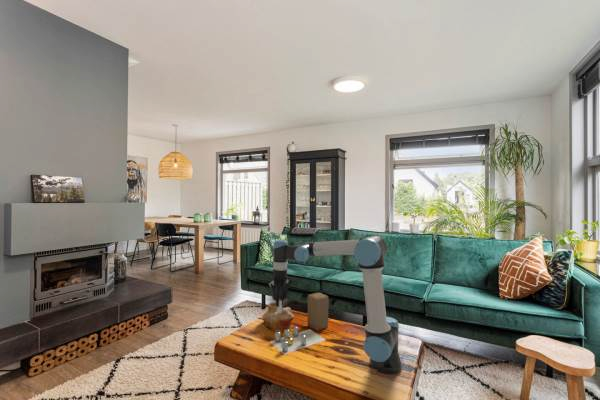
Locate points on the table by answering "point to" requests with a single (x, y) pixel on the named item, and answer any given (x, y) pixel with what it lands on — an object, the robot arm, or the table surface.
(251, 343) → the table surface
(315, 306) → the wooden block
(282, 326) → the ceramic vessel
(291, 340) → the brass round knob
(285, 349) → the spacers
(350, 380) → the table surface
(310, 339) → the board
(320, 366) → the table surface
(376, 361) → the robot arm
